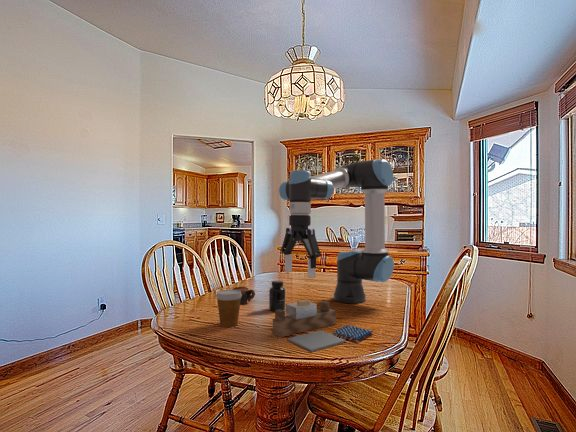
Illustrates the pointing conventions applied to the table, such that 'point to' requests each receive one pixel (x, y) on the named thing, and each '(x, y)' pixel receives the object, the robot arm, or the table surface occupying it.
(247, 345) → the table surface
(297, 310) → the light grey block
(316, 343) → the pad
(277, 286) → the supplement bottle
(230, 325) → the disposable coffee cup
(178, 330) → the table surface
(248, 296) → the pottery mug
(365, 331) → the woven mat
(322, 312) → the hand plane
